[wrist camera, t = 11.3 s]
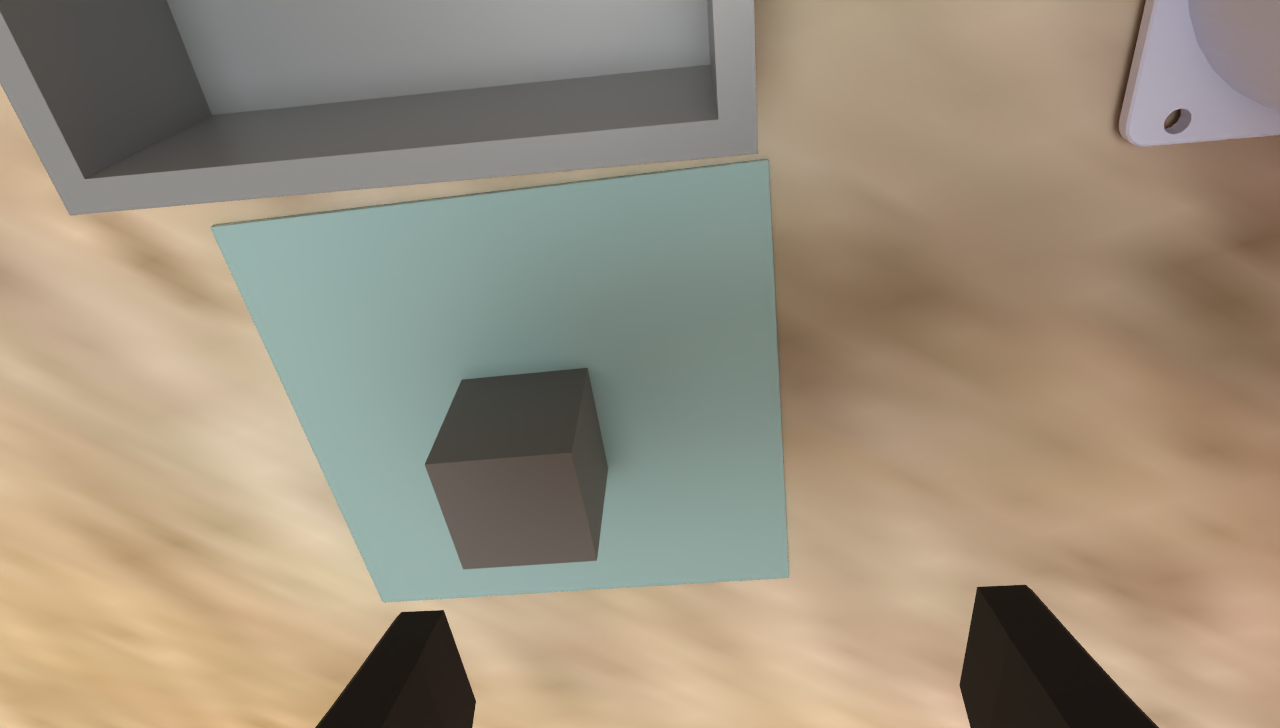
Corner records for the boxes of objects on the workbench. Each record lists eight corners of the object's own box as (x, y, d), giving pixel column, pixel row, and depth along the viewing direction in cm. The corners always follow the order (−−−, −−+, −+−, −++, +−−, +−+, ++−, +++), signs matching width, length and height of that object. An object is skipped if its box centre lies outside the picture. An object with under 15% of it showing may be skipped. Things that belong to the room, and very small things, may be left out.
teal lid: (765, 149, 18) (787, 219, 14) (786, 559, 25) (804, 676, 21) (226, 215, 20) (120, 294, 16) (390, 584, 27) (343, 698, 23)
